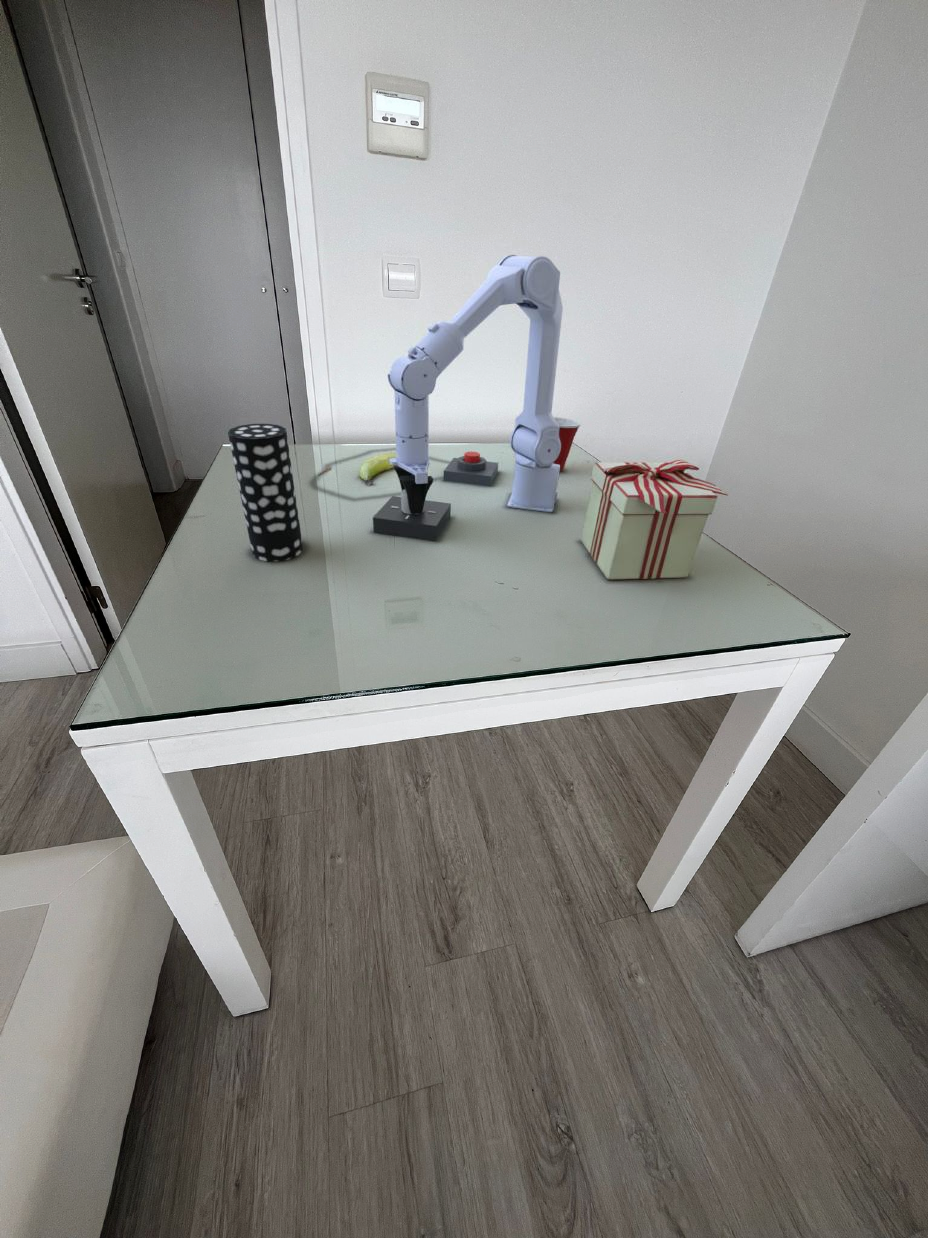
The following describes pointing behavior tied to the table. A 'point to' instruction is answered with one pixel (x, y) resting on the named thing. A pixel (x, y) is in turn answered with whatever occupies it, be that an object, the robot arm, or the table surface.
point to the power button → (472, 457)
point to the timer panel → (412, 520)
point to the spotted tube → (267, 490)
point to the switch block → (471, 472)
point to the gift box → (646, 518)
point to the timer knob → (406, 503)
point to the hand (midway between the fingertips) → (413, 507)
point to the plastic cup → (565, 438)
